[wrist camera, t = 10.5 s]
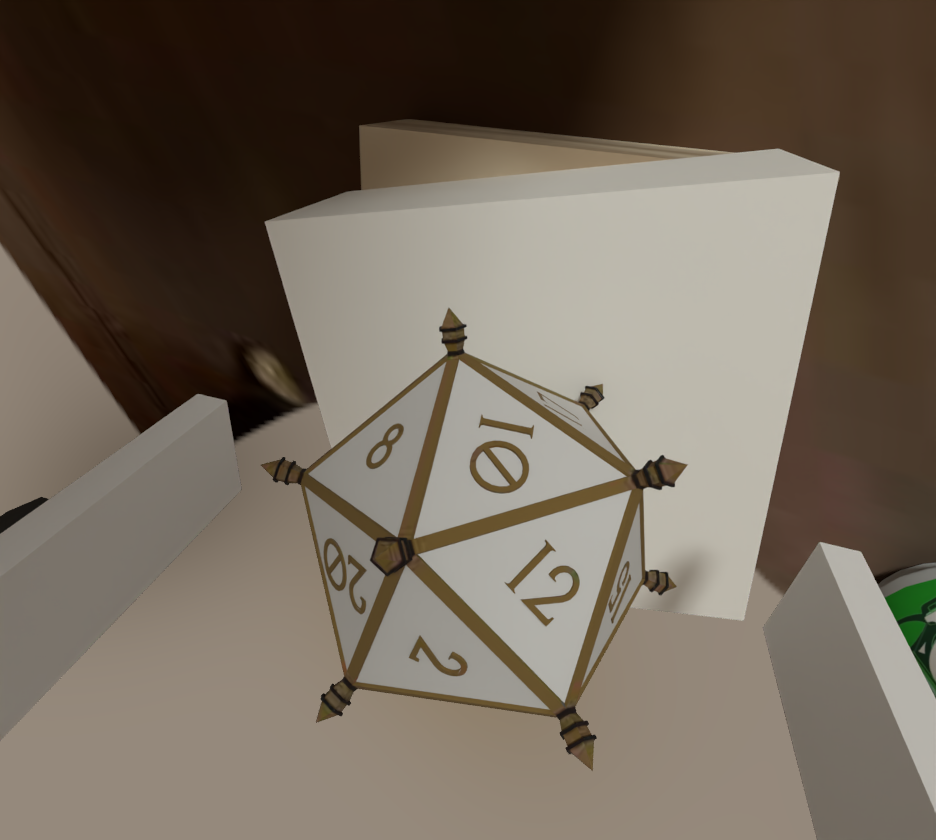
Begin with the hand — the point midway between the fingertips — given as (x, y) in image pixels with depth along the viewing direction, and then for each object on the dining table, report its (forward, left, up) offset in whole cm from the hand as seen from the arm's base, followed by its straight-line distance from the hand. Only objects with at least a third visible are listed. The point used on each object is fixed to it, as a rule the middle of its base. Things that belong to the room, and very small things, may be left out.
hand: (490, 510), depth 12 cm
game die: (0, 0, -4) cm, 4 cm away
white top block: (0, 0, -9) cm, 9 cm away
